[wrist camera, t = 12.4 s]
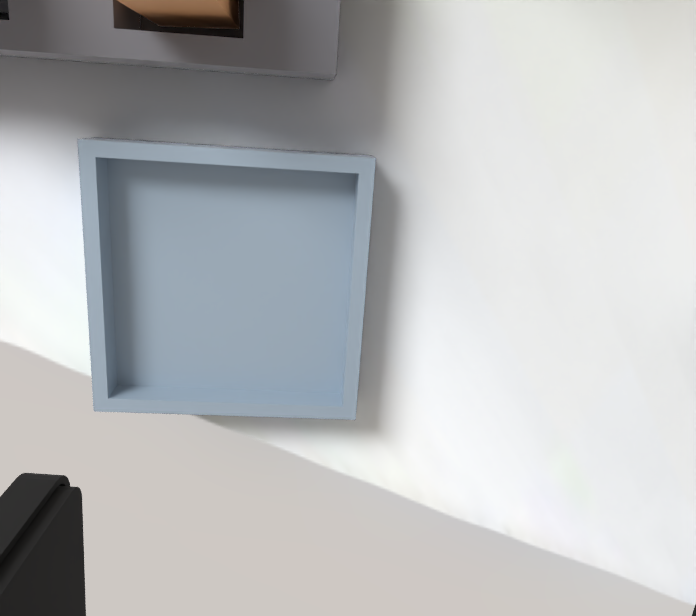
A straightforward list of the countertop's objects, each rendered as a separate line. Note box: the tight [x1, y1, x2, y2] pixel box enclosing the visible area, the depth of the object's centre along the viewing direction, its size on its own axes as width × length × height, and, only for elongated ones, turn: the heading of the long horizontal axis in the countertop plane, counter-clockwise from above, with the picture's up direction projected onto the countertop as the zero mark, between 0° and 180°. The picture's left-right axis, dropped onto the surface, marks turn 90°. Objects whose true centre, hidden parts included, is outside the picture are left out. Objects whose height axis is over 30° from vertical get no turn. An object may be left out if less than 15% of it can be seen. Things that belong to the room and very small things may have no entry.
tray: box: [78, 138, 376, 420], centre depth 34 cm, size 15×15×3 cm
